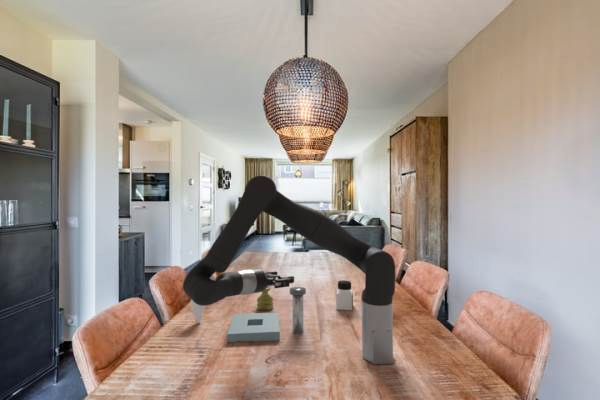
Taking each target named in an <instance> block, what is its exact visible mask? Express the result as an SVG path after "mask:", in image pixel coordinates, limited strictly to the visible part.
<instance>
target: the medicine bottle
mask: <svg viewBox="0 0 600 400" xmlns="http://www.w3.org/2000/svg"><path fill="white" fill-rule="evenodd" d="M353 291H354V290H353V289H352V282H351V281H350V280H348V279H341V280H338V281H337V291H336V294H335V296H336V297H335V307H336V308H335V310H337V311H338V310H341V311H353V307H354V293H353Z"/></svg>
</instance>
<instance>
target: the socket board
mask: <svg viewBox="0 0 600 400" xmlns="http://www.w3.org/2000/svg"><path fill="white" fill-rule="evenodd" d="M280 333H281V332H280V313H279V312H258V313H256V312H255V313H234V314H233V317H232V320H231V322H230V324H229V327H228V330H227V334H226V343H227V342H233V343H239V342H238V341H253V342H267V341H269V342H270V341H272V342H273V341H280V340H281V339H280V338H281V336H280V335H281V334H280ZM236 341H237V342H236Z"/></svg>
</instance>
